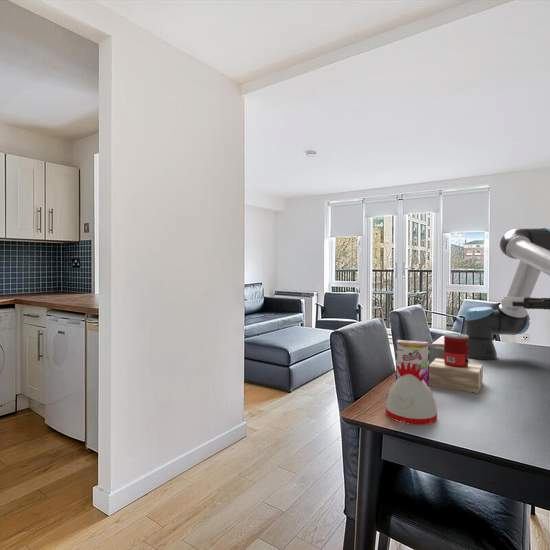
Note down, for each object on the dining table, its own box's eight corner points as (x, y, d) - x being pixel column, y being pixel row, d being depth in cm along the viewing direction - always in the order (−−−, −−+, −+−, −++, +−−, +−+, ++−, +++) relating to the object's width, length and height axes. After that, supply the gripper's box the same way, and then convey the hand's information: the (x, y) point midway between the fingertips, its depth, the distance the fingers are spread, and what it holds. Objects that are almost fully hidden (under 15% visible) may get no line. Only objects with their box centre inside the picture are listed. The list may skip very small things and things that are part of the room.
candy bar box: (395, 388, 131) (395, 341, 131) (395, 384, 136) (395, 339, 135) (429, 391, 127) (430, 344, 127) (428, 387, 132) (429, 341, 132)
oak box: (436, 375, 146) (436, 358, 146) (482, 382, 137) (482, 364, 137) (428, 385, 135) (428, 365, 135) (478, 393, 126) (478, 372, 126)
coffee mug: (454, 368, 156) (454, 345, 156) (453, 374, 148) (453, 349, 147) (420, 364, 163) (420, 342, 163) (417, 370, 154) (417, 346, 154)
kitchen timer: (399, 402, 117) (399, 355, 117) (444, 414, 108) (444, 363, 108) (377, 415, 107) (377, 363, 107) (424, 429, 98) (425, 372, 98)
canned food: (471, 368, 131) (471, 337, 131) (446, 367, 133) (447, 336, 133) (464, 362, 139) (465, 333, 138) (441, 361, 140) (442, 332, 140)
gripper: (580, 320, 115) (500, 315, 127) (572, 312, 135) (504, 308, 147) (580, 296, 115) (500, 293, 127) (573, 291, 135) (504, 289, 147)
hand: (502, 301), depth 137 cm, fingers open, 13 cm apart
